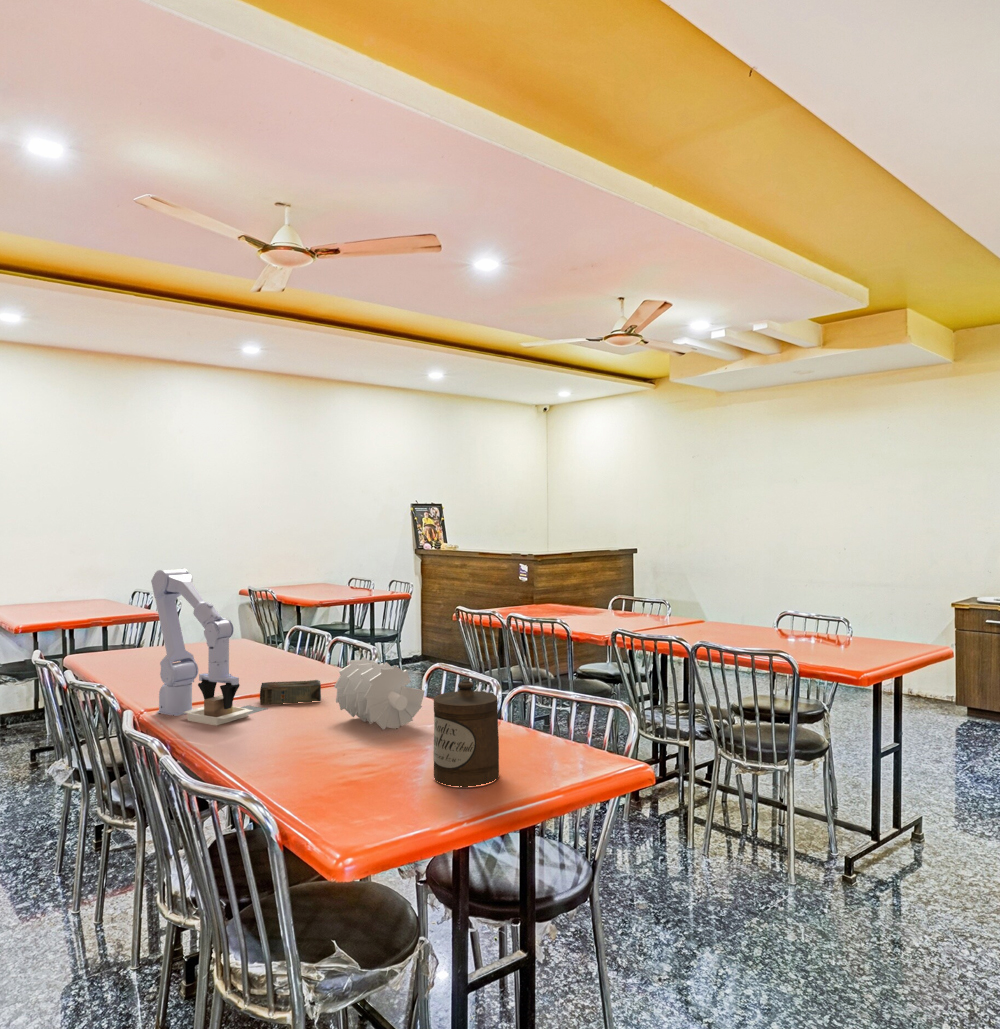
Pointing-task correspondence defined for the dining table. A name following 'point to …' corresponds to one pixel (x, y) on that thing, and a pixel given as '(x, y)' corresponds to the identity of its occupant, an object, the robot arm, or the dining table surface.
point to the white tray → (199, 716)
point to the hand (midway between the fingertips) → (218, 707)
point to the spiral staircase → (377, 693)
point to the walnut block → (216, 707)
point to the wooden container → (466, 737)
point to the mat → (254, 709)
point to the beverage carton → (290, 692)
